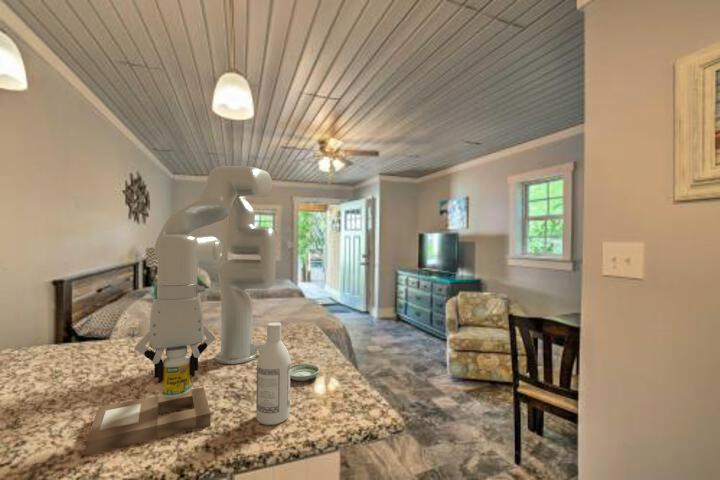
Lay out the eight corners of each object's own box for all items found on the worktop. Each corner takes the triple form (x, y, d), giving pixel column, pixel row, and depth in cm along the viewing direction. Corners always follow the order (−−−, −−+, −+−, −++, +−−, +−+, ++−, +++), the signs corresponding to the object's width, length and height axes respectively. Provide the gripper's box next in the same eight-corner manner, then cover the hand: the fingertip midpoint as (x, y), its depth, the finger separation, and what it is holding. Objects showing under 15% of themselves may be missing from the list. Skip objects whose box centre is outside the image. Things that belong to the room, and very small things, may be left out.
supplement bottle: (188, 385, 75) (189, 342, 75) (192, 394, 71) (192, 349, 71) (161, 391, 72) (161, 346, 72) (162, 401, 68) (163, 353, 68)
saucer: (326, 374, 96) (326, 366, 96) (307, 388, 87) (307, 378, 87) (298, 369, 100) (298, 360, 100) (277, 381, 91) (277, 372, 91)
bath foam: (276, 406, 77) (277, 318, 77) (296, 416, 72) (297, 323, 72) (249, 418, 72) (250, 324, 72) (268, 430, 67) (270, 329, 67)
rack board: (203, 397, 81) (203, 386, 81) (210, 425, 69) (210, 412, 69) (98, 418, 71) (99, 406, 71) (85, 456, 58) (85, 440, 58)
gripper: (218, 287, 79) (217, 364, 79) (130, 292, 71) (129, 379, 71) (223, 292, 73) (222, 376, 73) (127, 298, 64) (126, 393, 64)
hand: (176, 376), depth 72 cm, fingers closed on supplement bottle, 5 cm apart
